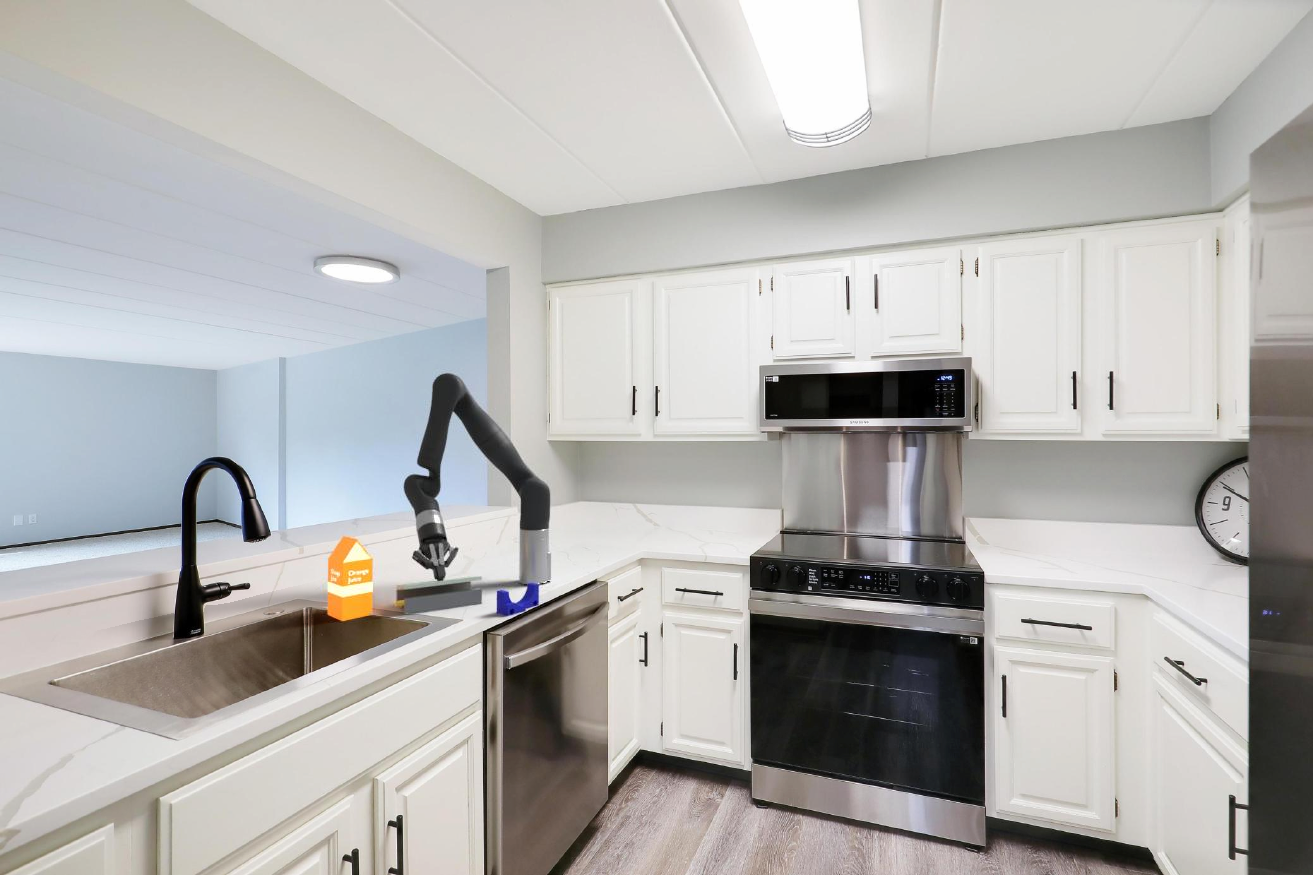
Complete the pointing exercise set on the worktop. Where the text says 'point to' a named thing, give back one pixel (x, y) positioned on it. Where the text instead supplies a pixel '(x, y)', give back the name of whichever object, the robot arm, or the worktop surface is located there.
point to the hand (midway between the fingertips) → (440, 579)
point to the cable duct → (437, 597)
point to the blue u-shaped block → (527, 601)
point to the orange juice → (350, 580)
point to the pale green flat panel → (438, 582)
